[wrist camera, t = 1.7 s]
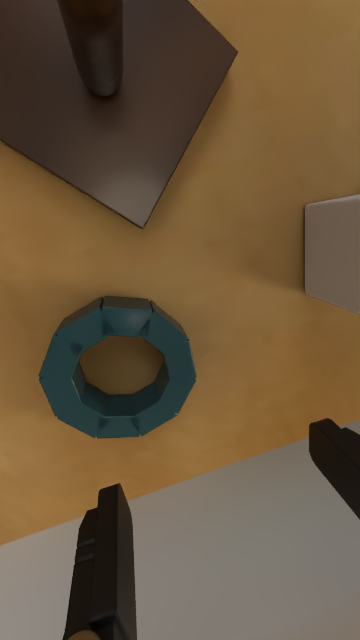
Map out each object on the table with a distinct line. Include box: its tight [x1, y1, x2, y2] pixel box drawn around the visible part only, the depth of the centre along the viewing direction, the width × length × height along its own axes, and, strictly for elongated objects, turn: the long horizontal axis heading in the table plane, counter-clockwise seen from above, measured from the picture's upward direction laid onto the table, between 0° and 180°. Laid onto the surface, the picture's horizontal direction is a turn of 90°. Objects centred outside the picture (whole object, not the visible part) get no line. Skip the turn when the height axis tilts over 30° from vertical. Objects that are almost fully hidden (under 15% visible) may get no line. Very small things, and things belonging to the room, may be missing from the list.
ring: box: [39, 296, 196, 438], centre depth 20 cm, size 11×11×3 cm
